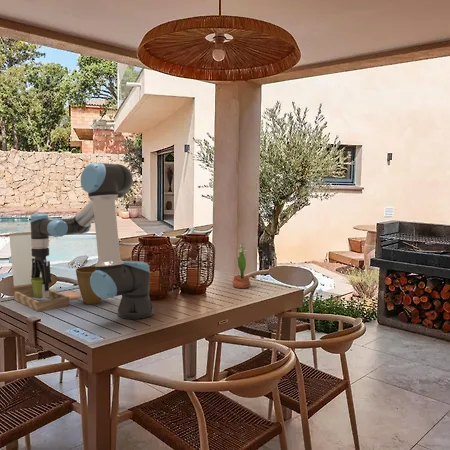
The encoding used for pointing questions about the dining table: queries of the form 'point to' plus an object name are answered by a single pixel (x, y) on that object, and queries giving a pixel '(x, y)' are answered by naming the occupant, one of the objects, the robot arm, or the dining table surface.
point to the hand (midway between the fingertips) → (41, 295)
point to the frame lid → (21, 258)
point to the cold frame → (24, 297)
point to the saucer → (72, 295)
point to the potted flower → (241, 271)
